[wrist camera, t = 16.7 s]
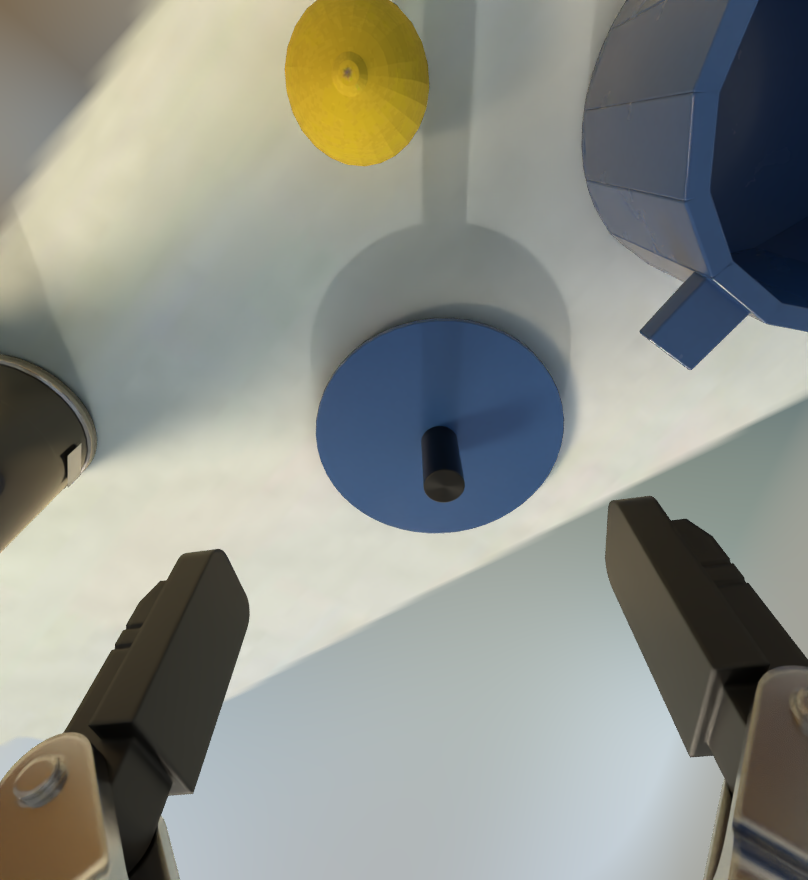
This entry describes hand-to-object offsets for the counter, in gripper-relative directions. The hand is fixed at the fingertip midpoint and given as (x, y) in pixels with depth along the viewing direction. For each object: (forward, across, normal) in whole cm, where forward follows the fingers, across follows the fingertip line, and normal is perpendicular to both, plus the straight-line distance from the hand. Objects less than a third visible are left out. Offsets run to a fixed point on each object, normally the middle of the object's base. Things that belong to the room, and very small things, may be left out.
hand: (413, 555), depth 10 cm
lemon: (+20, 0, -10) cm, 22 cm away
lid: (+20, 0, +9) cm, 22 cm away
